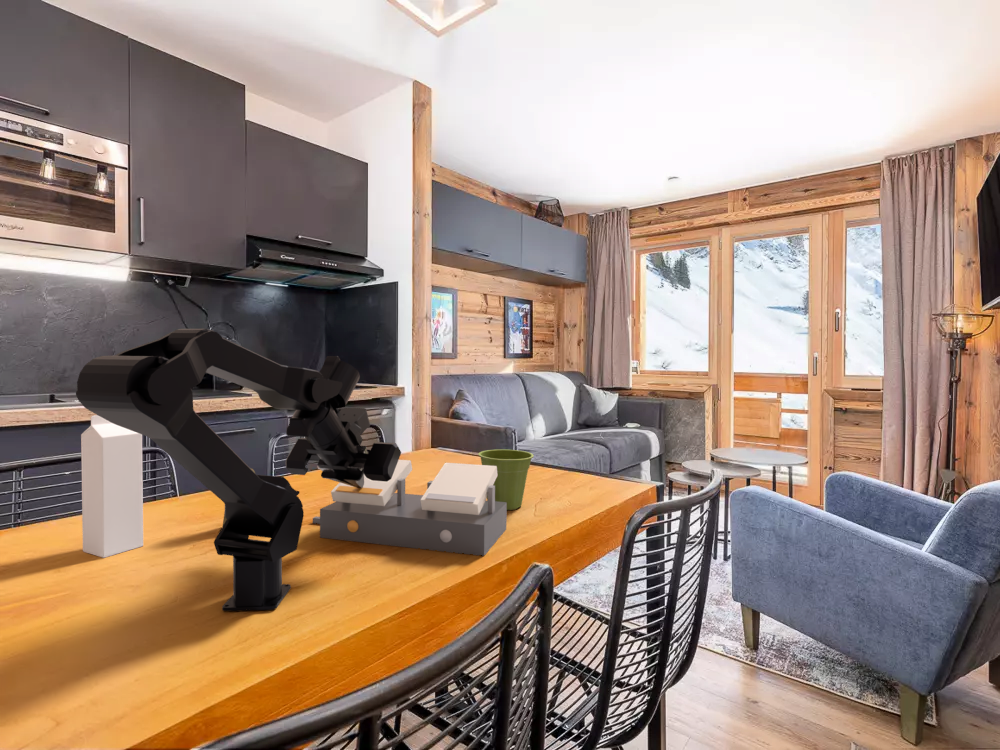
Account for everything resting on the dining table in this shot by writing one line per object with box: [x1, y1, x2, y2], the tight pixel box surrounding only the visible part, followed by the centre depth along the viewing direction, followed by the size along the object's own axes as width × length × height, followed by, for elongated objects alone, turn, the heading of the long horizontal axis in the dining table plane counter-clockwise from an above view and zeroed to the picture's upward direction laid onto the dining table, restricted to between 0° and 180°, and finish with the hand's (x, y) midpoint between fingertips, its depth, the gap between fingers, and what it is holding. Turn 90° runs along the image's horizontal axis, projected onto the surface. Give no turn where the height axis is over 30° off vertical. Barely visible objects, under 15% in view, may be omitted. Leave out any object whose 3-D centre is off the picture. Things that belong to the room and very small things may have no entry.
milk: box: [80, 414, 144, 559], centre depth 86 cm, size 6×6×22 cm
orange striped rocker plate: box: [330, 459, 413, 506], centre depth 97 cm, size 12×10×2 cm
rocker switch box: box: [312, 478, 508, 557], centre depth 96 cm, size 14×36×10 cm, turn 75°
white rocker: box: [421, 462, 498, 515], centre depth 93 cm, size 12×10×2 cm
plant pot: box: [478, 449, 534, 511], centre depth 113 cm, size 12×12×11 cm
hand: (361, 485), depth 93 cm, fingers closed, pressing on orange striped rocker plate
